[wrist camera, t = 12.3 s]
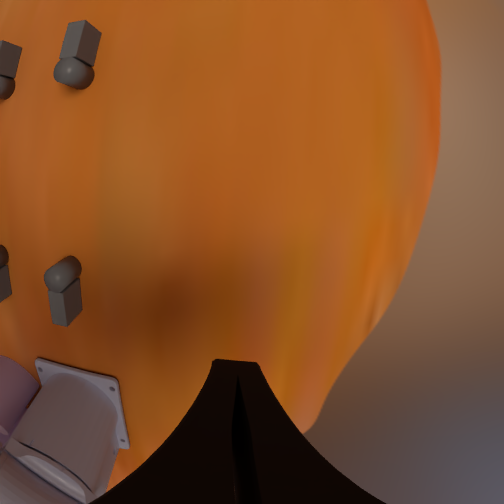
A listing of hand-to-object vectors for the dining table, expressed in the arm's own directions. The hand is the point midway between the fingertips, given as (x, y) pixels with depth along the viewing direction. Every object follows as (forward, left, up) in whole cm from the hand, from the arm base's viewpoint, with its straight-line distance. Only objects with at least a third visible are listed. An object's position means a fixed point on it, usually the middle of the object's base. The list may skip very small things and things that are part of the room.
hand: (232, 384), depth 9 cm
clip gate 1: (+5, +11, -10) cm, 16 cm away
